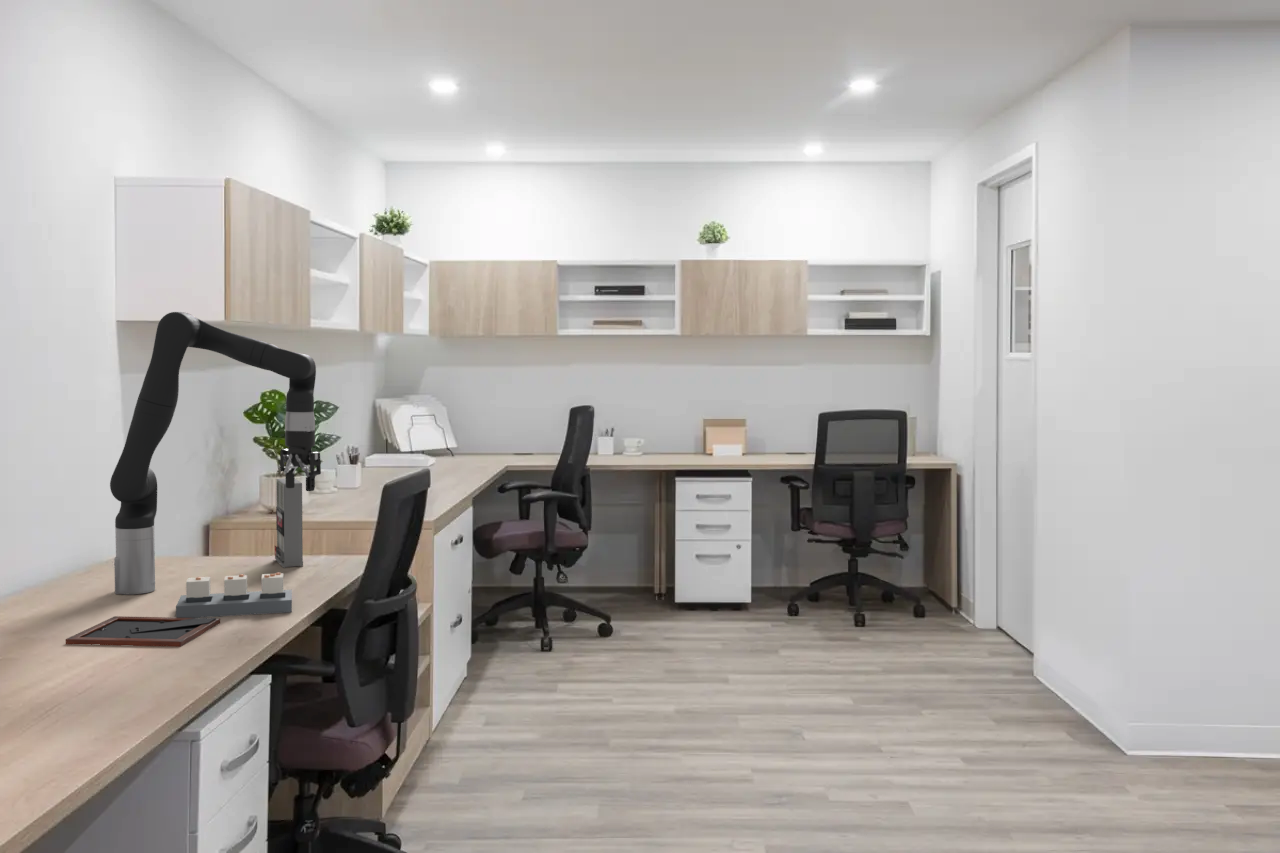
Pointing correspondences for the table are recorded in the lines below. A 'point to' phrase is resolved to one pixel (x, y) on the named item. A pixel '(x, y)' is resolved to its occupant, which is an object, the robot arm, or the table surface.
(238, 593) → the tile two
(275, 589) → the tile three
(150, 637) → the picture frame
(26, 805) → the table surface
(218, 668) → the table surface
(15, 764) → the table surface
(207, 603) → the board
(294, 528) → the tall grey labeled box
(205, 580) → the tile one
